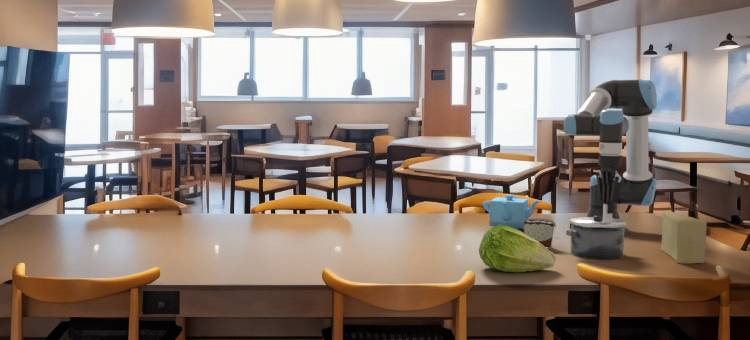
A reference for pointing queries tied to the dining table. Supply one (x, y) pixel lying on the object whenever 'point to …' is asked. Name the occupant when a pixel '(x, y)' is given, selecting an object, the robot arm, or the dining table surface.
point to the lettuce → (513, 251)
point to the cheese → (683, 238)
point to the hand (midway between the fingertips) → (607, 222)
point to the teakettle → (509, 211)
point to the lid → (597, 222)
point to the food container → (540, 230)
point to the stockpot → (597, 242)
